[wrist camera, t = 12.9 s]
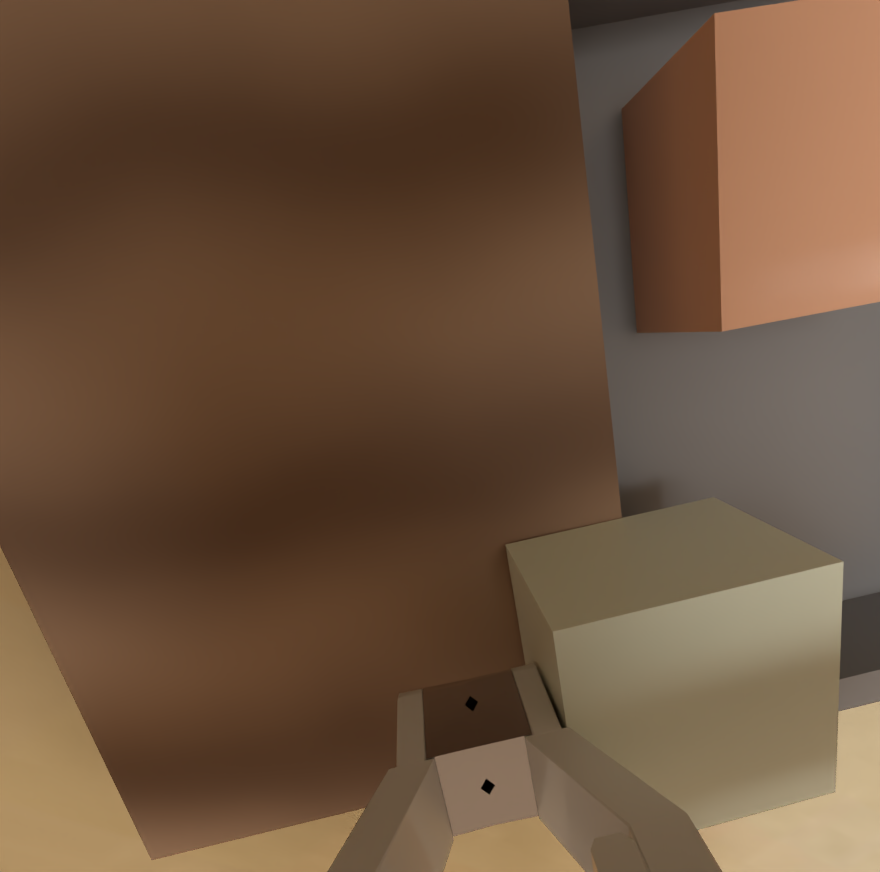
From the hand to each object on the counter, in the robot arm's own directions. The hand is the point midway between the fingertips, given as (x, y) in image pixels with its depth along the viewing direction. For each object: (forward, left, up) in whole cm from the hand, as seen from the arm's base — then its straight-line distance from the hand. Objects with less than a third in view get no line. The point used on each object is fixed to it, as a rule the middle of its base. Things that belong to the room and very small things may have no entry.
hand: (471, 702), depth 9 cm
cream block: (0, +4, -1) cm, 4 cm away
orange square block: (-9, +8, -3) cm, 13 cm away
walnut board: (-5, -2, -4) cm, 7 cm away
